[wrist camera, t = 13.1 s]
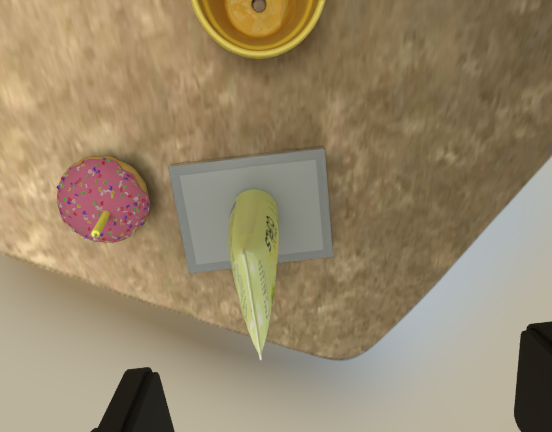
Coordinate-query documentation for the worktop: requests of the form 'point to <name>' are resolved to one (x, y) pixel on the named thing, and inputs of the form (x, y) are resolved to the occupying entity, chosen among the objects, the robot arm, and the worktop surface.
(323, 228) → the grey flat block
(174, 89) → the worktop surface
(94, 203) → the cupcake
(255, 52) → the plant pot
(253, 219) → the tube
